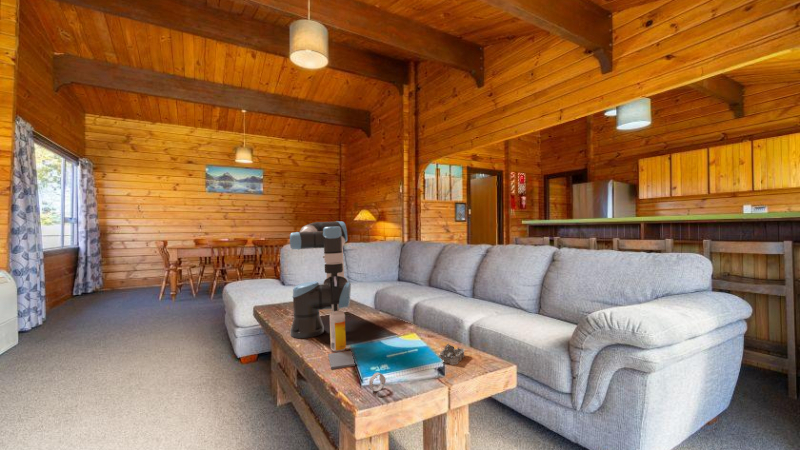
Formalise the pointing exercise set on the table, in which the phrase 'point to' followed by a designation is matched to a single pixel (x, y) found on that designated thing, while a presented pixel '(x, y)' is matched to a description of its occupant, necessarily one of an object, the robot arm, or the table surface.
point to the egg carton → (451, 354)
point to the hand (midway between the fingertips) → (335, 318)
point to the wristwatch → (382, 381)
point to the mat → (341, 359)
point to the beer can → (337, 331)
